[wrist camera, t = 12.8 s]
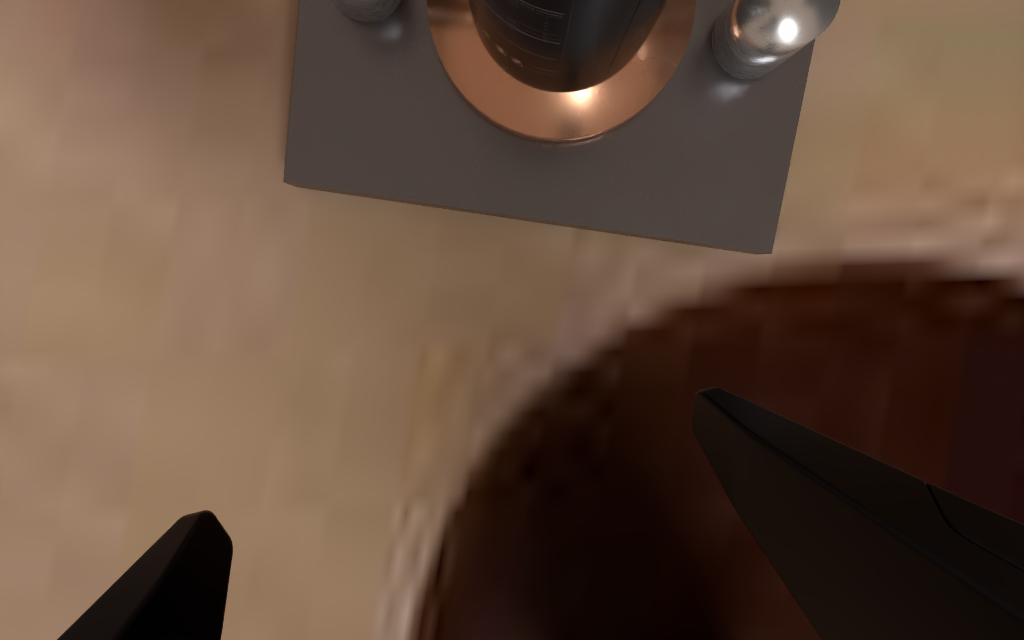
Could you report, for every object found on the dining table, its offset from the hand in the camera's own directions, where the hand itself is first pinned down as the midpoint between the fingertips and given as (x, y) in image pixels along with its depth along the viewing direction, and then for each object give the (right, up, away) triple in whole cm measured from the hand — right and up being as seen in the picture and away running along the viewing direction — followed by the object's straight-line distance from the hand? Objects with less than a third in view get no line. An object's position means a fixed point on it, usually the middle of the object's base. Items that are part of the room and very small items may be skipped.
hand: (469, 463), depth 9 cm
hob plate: (+3, +15, +11) cm, 19 cm away
